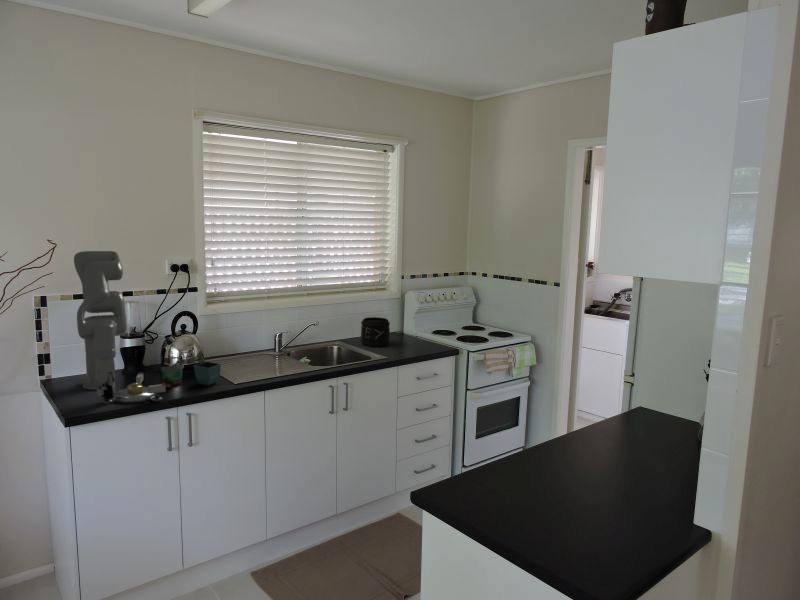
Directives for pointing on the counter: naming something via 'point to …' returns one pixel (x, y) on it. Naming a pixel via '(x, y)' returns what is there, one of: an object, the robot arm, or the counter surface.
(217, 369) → the flower pot
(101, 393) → the near knob
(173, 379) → the food container
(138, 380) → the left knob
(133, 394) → the levelling plate
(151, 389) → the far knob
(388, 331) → the black canister
